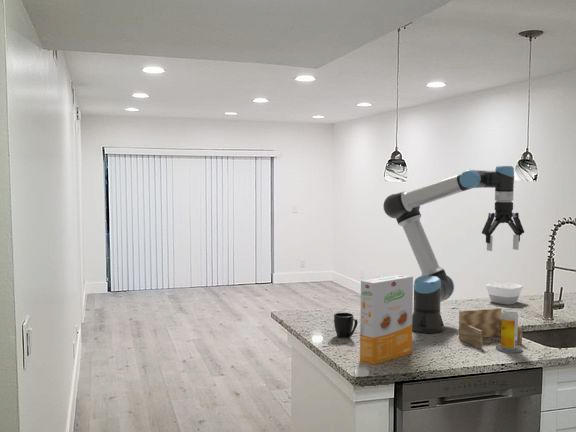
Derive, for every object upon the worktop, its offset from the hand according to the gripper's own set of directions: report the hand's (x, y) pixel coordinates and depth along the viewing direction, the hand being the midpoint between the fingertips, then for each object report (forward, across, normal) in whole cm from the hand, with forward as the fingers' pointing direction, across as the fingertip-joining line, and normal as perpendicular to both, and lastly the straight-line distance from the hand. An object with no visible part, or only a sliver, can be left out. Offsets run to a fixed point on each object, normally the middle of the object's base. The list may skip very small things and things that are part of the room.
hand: (502, 250), depth 254 cm
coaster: (+37, -13, -22) cm, 45 cm away
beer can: (+36, -13, -22) cm, 44 cm away
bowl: (+37, +44, +54) cm, 79 cm away
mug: (+37, -68, +13) cm, 78 cm away
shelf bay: (+37, -13, -10) cm, 40 cm away
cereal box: (+37, -64, -16) cm, 76 cm away
